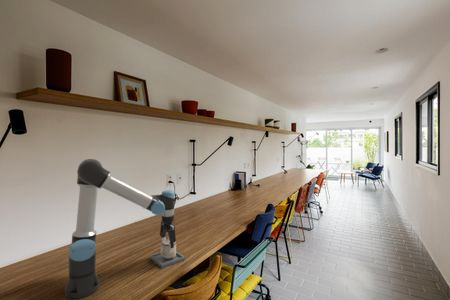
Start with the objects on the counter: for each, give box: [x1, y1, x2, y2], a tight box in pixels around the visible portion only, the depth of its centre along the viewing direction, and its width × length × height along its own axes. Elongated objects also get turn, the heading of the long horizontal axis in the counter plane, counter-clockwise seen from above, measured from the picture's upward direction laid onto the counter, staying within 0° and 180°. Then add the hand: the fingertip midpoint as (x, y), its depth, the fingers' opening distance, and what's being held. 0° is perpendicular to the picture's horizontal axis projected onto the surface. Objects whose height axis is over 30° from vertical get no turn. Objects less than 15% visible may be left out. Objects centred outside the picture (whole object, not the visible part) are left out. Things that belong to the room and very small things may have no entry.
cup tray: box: [149, 250, 186, 269], centre depth 159 cm, size 16×16×2 cm
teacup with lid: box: [159, 237, 178, 258], centre depth 158 cm, size 12×9×12 cm
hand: (167, 250), depth 158 cm, fingers closed on teacup with lid, 9 cm apart
